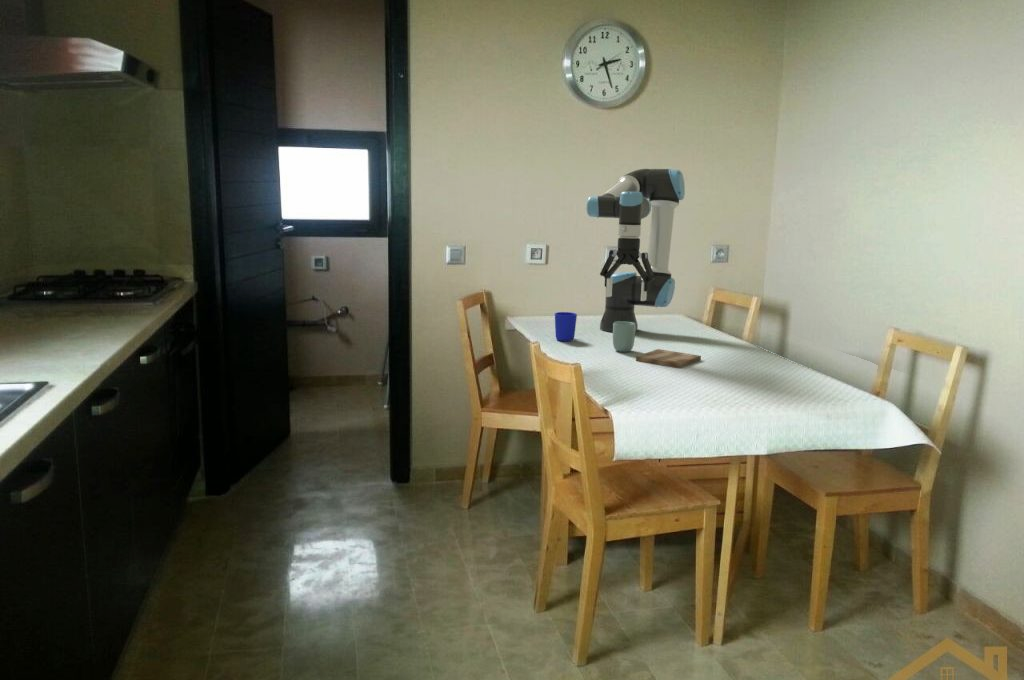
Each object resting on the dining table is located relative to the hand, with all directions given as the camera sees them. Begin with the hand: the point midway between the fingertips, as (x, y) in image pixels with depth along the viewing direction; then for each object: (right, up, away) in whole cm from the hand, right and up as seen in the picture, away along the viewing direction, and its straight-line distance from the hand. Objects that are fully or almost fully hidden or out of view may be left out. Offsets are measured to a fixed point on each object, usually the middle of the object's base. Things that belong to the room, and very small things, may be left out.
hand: (625, 298), depth 278 cm
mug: (-20, -14, +23) cm, 33 cm away
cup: (-1, -18, +4) cm, 19 cm away
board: (+13, -21, -10) cm, 27 cm away
